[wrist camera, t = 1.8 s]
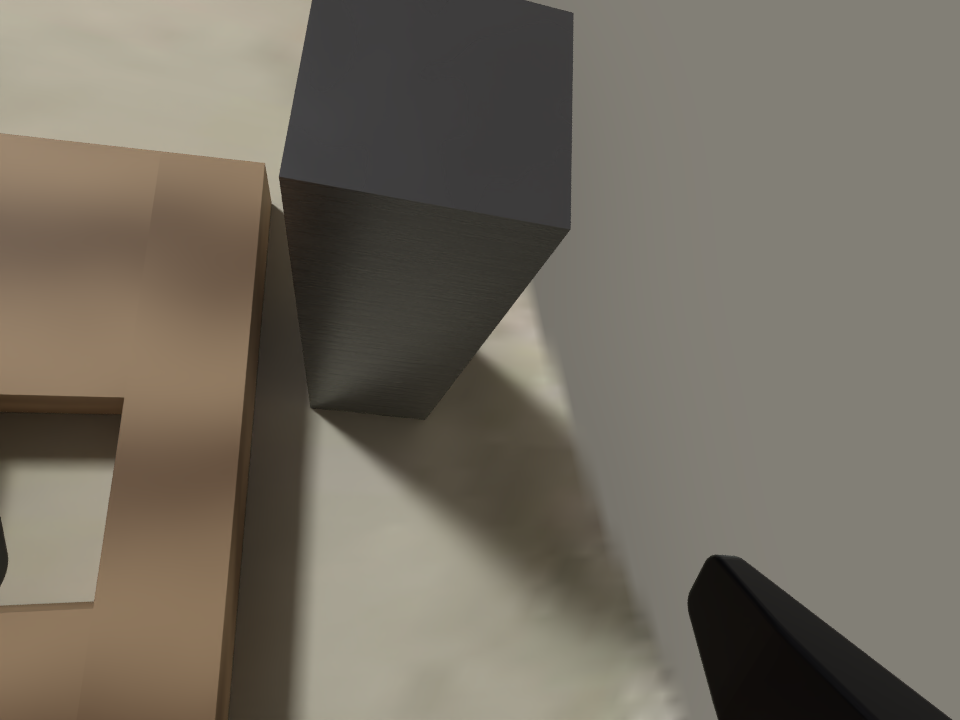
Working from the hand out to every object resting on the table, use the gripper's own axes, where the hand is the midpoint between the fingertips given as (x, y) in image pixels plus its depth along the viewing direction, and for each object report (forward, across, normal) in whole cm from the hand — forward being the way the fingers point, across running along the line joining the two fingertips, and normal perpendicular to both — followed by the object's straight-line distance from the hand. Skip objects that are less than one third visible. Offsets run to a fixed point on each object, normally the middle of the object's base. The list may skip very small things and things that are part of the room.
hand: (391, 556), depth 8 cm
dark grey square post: (+14, 0, +4) cm, 14 cm away
